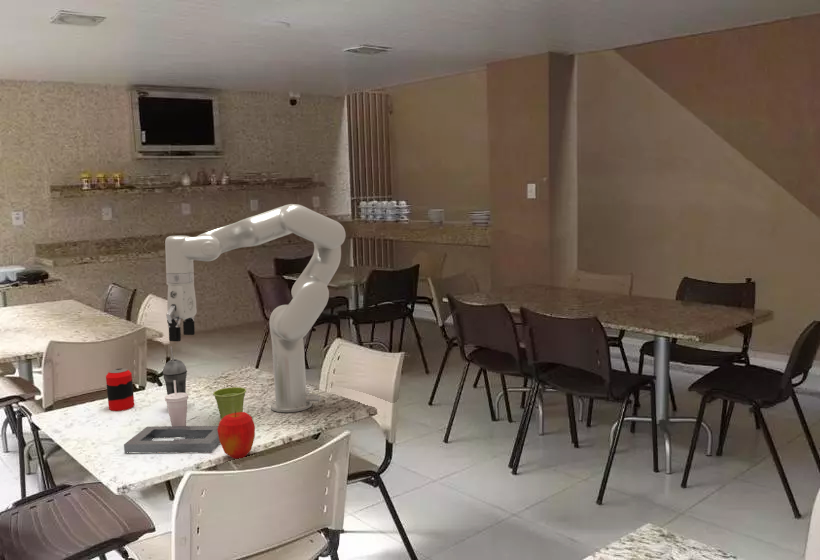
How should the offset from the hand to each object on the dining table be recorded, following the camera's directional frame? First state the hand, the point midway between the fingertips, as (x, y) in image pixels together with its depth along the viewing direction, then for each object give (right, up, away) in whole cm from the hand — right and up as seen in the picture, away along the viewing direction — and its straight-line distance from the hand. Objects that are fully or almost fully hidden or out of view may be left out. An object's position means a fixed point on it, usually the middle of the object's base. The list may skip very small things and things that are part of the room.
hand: (182, 337), depth 207 cm
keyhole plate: (+4, -27, -15) cm, 31 cm away
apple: (+23, -28, -26) cm, 45 cm away
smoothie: (0, -26, -3) cm, 26 cm away
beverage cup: (-7, -24, +17) cm, 30 cm away
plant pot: (+14, -25, +3) cm, 28 cm away
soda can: (-25, -24, +20) cm, 40 cm away
